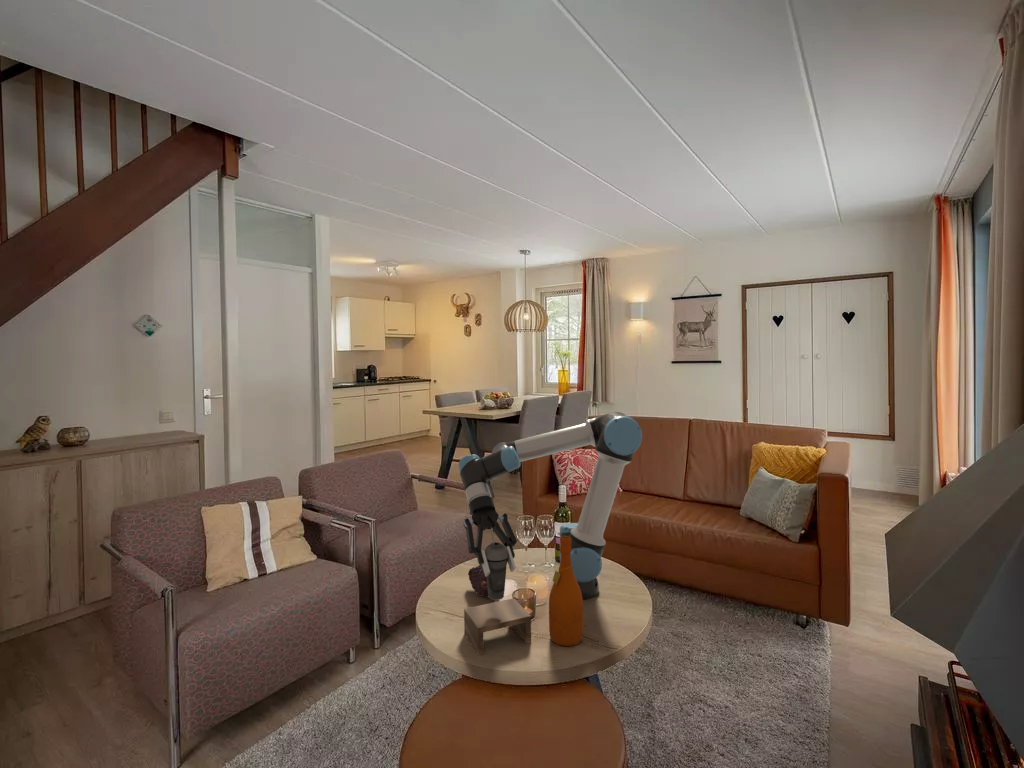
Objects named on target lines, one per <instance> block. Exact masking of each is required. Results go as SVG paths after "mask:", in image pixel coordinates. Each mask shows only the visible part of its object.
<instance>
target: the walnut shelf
mask: <svg viewBox="0 0 1024 768" xmlns="http://www.w3.org/2000/svg"><path fill="white" fill-rule="evenodd" d="M463 616H464V617H463V618H464V622H463V625H464V628H463V629H464V630H463V631H464V635H465V637H466V636H467V637H466V639H467V640H468V641H469V643H470V644H471V647H473V649H474V650H476V651H477V652H476V651H475V652H476V654H477V653H478V654H481V655H484V654H483V653H484V652H485V651H484V633H487V632H490V631H494V630H495V631H496V630H499V629H503V628H507V627H512V628H513V629H514V630H515V631H516V632H517V634H519V636H520V637H521V639H522V640H523V641H524V642H525V643H527V644H528V643H530V642H532V615H531V614H530V613H529V612H528V611H527V610H526V609H525V608H524V607H523V606H522V605H521V604H520V603H519V602H518V601H517V600H516V598H509V599H504V600H499V601H498V600H497V601H495V602H489V603H485V604H480V605H476V606H470V607H466V608H464V609H463ZM478 654H477V655H478Z"/></svg>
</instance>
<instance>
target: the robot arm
mask: <svg viewBox="0 0 1024 768" xmlns="http://www.w3.org/2000/svg"><path fill="white" fill-rule="evenodd" d="M642 441H643V431H642V428H641V426H640V425H639V422H637V420H635V418H633V417H632V416H629V415H628V414H627V415H626V414H625V413H622V412H621V411H619V412H618V411H611V412H608V413H604V414H602V415H599V416H595V417H593V418H588V419H586V421H585V422H584V423H581V424H577V425H573V426H569V427H565V428H562V429H556V430H554V431H553V430H552V431H549V432H545V433H540V434H537V435H532V436H529V437H525V438H521V439H517V440H514V441H509V442H499V443H497V444H496V445H495V446H494V447H493V448H492V450H491V453H489V454H488V455H486V456H483V457H480V456H479V455H477V454H474V453H473V454H471V455H469V454H467V455H464V456H463V457H462V458H461V459H460V460H459V462H458V469H459V476H460V478H461V482H462V485H463V488H464V491H465V497H466V499H467V503H468V508H469V511H470V516H471V518H465V519H464V522H463V527H464V529H465V531H466V532H465V533H466V540H467V547H468V548H467V549H468V553H469V554H474V556H476V558H477V563H478V564H479V565H482V566H483V570H484V574H485V577H486V576H488V575H489V573H490V570H489V566H488V562H487V559H486V555H485V549H483V550H482V546H483V537H484V531H485V530H491V528H493V533H494V534H495V535H496V537H497V538H498V539H499V541H500V543H501V544H502V545H504V547H505V548H506V550H507V552H508V561H507V565H508V567H509V571H510V573H511V572H512V573H513V572H514V571H515V569H516V568H517V567H516V563H515V560H514V558H515V557H516V554H515V551H514V549H513V547H515V546H516V544H517V542H518V540H517V538H516V535H515V533H514V531H513V529H512V526H511V525H510V523H509V520H508V518H509V517H508V514H507V513H503V514H499V513H498V512H497V511H496V506H495V504H494V501H493V498H492V494H491V491H490V487H489V484H488V481H490V480H493V479H496V478H498V477H501V476H502V475H505V474H508V473H510V472H513V471H514V470H517V469H519V468H520V467H521V462H526V461H529V460H533V459H534V460H535V459H538V458H541V457H546V456H550V455H554V454H558V453H561V452H566V451H570V450H574V449H578V448H582V447H587V446H592V447H595V448H596V449H595V452H596V454H597V455H598V458H597V461H596V464H595V468H594V471H593V474H592V477H591V480H590V484H589V486H588V491H587V494H586V496H585V500H584V503H583V505H582V510H581V513H580V515H579V519H578V521H577V522H569V523H564V524H561V525H560V526H559V532H558V533H559V538H560V537H562V536H569V537H570V538H571V549H572V552H571V553H570V559H571V564H572V569H573V573H574V576H575V578H576V580H577V583H578V585H579V588H580V590H581V594H582V598H583V600H586V599H591V598H593V597H595V596H596V595H598V594H599V590H600V589H599V587H600V586H599V585H600V584H599V580H598V578H597V577H599V575H600V573H601V571H602V568H603V562H602V561H603V560H602V556H603V552H604V550H605V546H606V540H605V538H604V533H605V529H606V527H607V523H608V521H609V517H610V514H611V511H612V507H613V505H614V501H615V499H616V496H617V492H618V488H619V485H620V482H621V479H622V477H623V472H624V469H625V467H626V465H628V464H630V463H632V461H633V458H634V454H635V452H636V451H637V450H638V449H639V448H640V446H641V445H642ZM498 520H499V522H498ZM499 523H501V526H502V528H503V529H502V528H501V526H500V524H499ZM473 524H474V525H475V526H476V527H477V529H476V530H477V534H476V542H475V540H474V532H473ZM475 543H476V544H475ZM560 563H561V553H560V552H559V564H560ZM479 565H478V566H479Z"/></svg>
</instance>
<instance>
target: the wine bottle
mask: <svg viewBox="0 0 1024 768" xmlns="http://www.w3.org/2000/svg"><path fill="white" fill-rule="evenodd" d="M571 552H572V549H571V538H570V537H569V536H562V537H560V536H559V554H560V553H561V563H560V562H559V566H558V570H555V571H554V574H553V578H552V581H553V583H552V586H551V589H550V592H549V593H550V594H549V597H548V598H549V599H548V627H549V629H548V631H549V637H550V640H551V641H552V642H553V643H554V644H556V645H558V646H562V647H572V646H576V645H578V644H579V643H580V642H581V641H582V640H583V636H584V630H583V629H584V599H583V598H582V594H581V590H580V588H579V585H578V583H577V580H576V578H575V576H574V573H573V569H572V564H571V559H570V553H571Z"/></svg>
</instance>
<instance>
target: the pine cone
mask: <svg viewBox="0 0 1024 768" xmlns="http://www.w3.org/2000/svg"><path fill="white" fill-rule="evenodd" d="M467 574H468V580H469V582H470V585H471V588H472V589H473V591H474V593H476V594H478V596H480V597H481V596H482V597H488V590H487V579H486V577H485V574H484V570H483V566H482V564H481V565H478V566H475V567H474V566H473V567H471V568H470V569H469V570H468V573H467Z"/></svg>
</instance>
